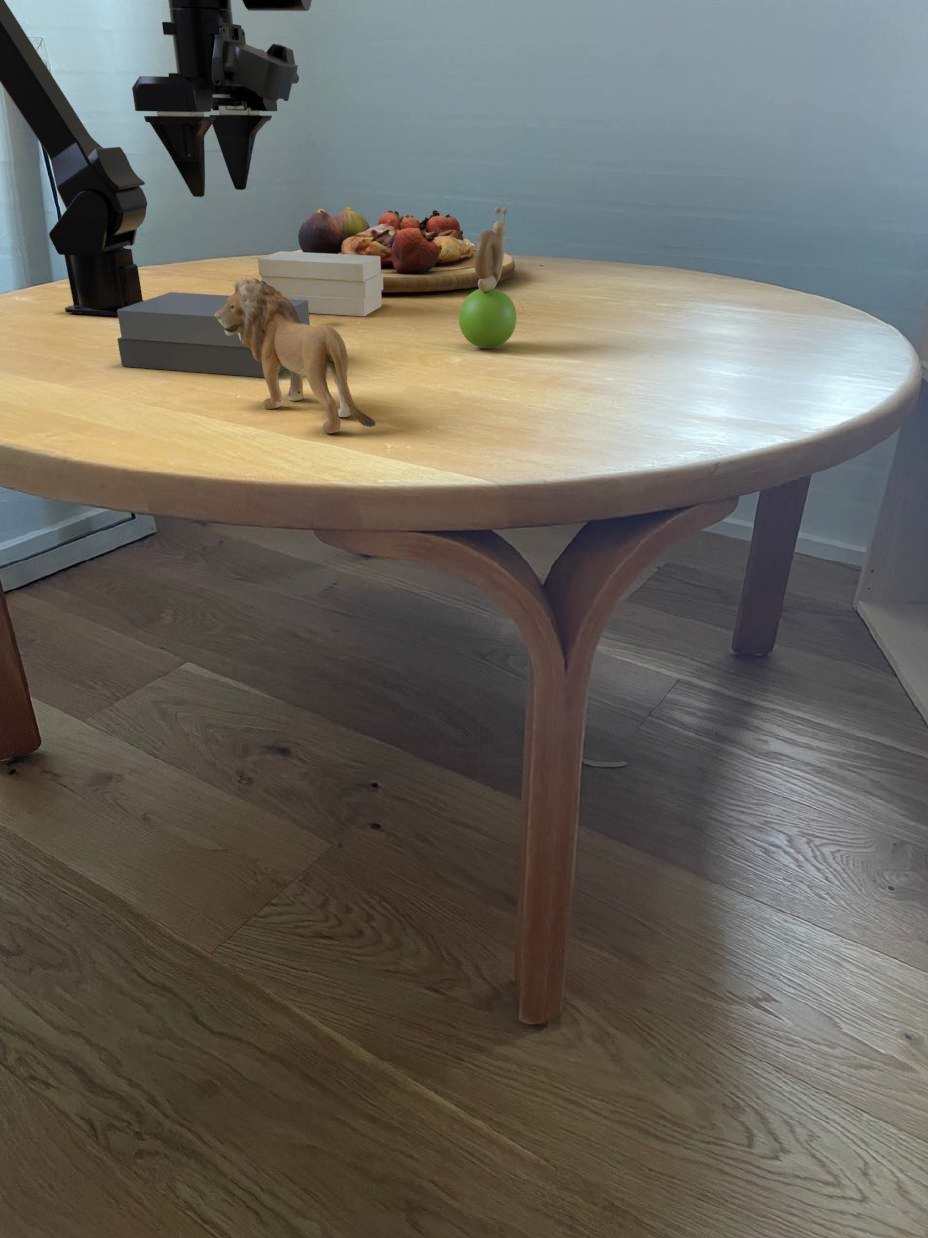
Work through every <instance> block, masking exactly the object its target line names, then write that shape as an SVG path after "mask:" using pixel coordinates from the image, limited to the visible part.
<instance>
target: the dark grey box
mask: <svg viewBox="0 0 928 1238" xmlns="http://www.w3.org/2000/svg"><path fill="white" fill-rule="evenodd" d="M230 296H231V295H227V294H226V295H225V294H208V293H191V292H190V293H189V292H173V291H170V292H169V291H168V292H167V293H163V294H161V295H158V296H155V297H152V298H149V299H148V298H147V299H146V300H143V301H142V302H139V303H136V304H133V305H130V306H127V307H124V308H121V309H118V310H117V313H118V315H117V318H118V324H119V330H120V337H117V345H118V351H119V357H120V363H121V367H125V368H137V369H152V370H163V371H164V370H165V371H177V372H189V373H202V374H213V375H215V374H216V375H229V376H241V377H254V378H264V379H265V377H264V372H263V367H262V363H261V362H258V361H257V360H255V359H254V356H253V353H252V351H251V349H249V348H248V347H246V346H245V345H243V344H242V342H241V341H240V338H239V335H238V333H236V334H234V335H231V336H228V335H226V333H225V330H224V326H223V325H222V324H221V323H220V322H219V321H218V319H217V318H216V317H215V313H216V312H217V311H218V310H219V309H221V308H222V307H223V306H224V305H225V304H226V303H227V300H228V298H229V297H230ZM288 300H289V301H290V302H291V304H292V305H293V307H294V308H295V310H296V312H297V314H298V318H299V320H300V321H301V322H302V323H304V324H307V325H309V326H311V325H310V313H309V310H308V300H293V299H288ZM285 370H288V369H287V368H285V367H280V370H279V373H278V375H279V374H280V373H282V372H284V371H285Z"/></svg>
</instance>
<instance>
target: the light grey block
mask: <svg viewBox="0 0 928 1238" xmlns="http://www.w3.org/2000/svg"><path fill="white" fill-rule="evenodd" d="M260 277H261V281H264V282H266V284H267V285H269V286H272V287H274V288H275V289H276V290H277V291H280V292H281V293H282V296H283V297H285V298H287V299H293V300H308V310H309V314H317V315H331V316H332V315H333V316H334V315H335V316H349V317H366V316H368V315H369V314H371V313H373V312H374V311H376V310H378V309H380V308H382V306H383V304H382V303H383V302H382V292H381V291H382V290H383V273H380V274H378V275H376V276H374V277H371V278H369V279H367V280H365V281H363V282H361V281H343V280H325V279H306V278H288V277H269V276H260Z"/></svg>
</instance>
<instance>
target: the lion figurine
mask: <svg viewBox="0 0 928 1238" xmlns="http://www.w3.org/2000/svg"><path fill="white" fill-rule="evenodd" d="M232 286H233V288H234V292H233V293H232V294H231V295H229V296H230V297H229V298H228V300H227V303H226V304H225V305H224V306H223V307H222V308H221V309H219V310H218V311H217V312H216V313H215V317H216V318H217V319H218V321H219V322H220V323H221V324H222V325H223V326H224V330H225V333H226V335H228V336H231V335H234V334H236V333H238V335H239V338H240V341H241V342H242V344H243V345H245V346H246V347H248V348H249V349H251V351H252V353H253V356H254V359H255V360H257V361H258V362H261V363H262V367H263V372H264V377H265V378H264V377H263V378H264V380H265V383H266V385H267V388H268V392H269V398H266V399H264V400H263V402H262V406H263V408H264V409H267V410H270V409H277V408H280V407H282V404H283V397H282V396H283V395H282V390H281V387H280V380H279V374H280V373H279V370H280V367H285V368H287V369H286V370H288V373H289V381H290V384H289V389H288V393H287V395H286V397H287V400H288V401H292V402H295V401H296V402H297V401H301V400H303V399H304V386H303V384H304V383H303V376H304V377H305V376H306V378H307V382H308V384H309V387H310V389H311V391H312V393H313V395H314V396H315V398H316V399H317V401H318V402H319V404H320V405H321V406H322V408H323V410H324V412H325V413H326V415H327V420H326V421H325V422H324V423H323V424H322V431H323V432H324V433H325V434H334V433H336V432H338V431H340V429H341V419H340V418H348V417H351V416H352V414H353V416H354V417H355V418H356V420H357V421H358V422H359V423H360V424H361V425H362V426H363V427H369V428H374V427H375V426H376V421H375V420H373V418H371V417H369V416H368V415H366V414H365V413H363V412H362V411H361V410H359V408H358V407H357V406H356V403H355V402H354V400H353V397H352V393H351V391H350V387H349V384H348V367H349V355H348V350H347V347H346V344H345V341H344V339H343V337H342V336H341V335H340V333H339V332H338V331H337V330H336V329H335V328H334V327H332V326H328V325H323V324H318V325H310V326H309V325H307V324H304V323H302V322H301V321H300V320H299V318H298V314H297V312H296V310H295V308H294V307H293V305H292V304H291V302H290V301H289V300H288V299H287V298H285V297H283V296H282V293H281V292H280V291H277V290H276V289H275V288H274V287H272V286H269V285H267V284H266V282H264V281H262V280H259V279H258V278H254V277H243V278H241V279H237V280H235V281H234V283H233V285H232ZM328 369H329V370H330V373H331V376H332V378H333V381H334V383H335V386H336V388H337V391H338V401H339V406H338V407H337V403H336V401H335V399H334V397H333V396H332V394H331V392H330V390H329V387H328V382H327V375H328ZM278 373H279V374H278Z"/></svg>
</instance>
